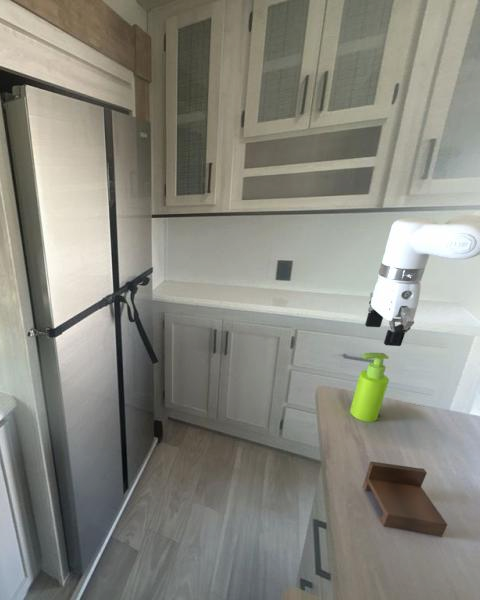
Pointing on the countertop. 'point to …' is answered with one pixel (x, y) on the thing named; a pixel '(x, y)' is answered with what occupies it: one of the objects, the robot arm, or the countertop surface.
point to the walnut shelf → (403, 498)
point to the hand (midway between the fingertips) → (381, 335)
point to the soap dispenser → (370, 389)
